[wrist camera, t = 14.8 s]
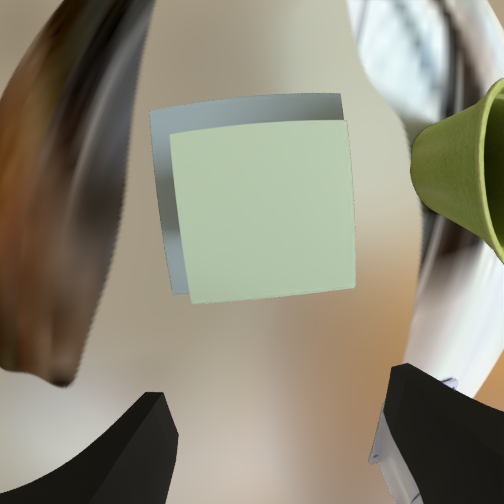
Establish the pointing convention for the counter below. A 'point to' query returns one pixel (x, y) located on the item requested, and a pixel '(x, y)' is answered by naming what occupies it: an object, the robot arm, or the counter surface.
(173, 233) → the board
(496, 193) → the plant pot
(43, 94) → the counter surface
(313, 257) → the sage block
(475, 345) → the counter surface
